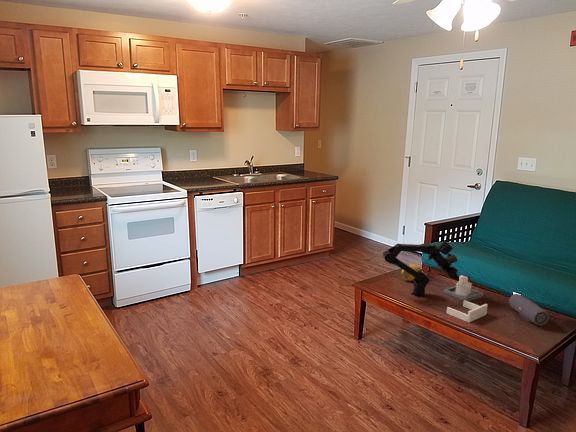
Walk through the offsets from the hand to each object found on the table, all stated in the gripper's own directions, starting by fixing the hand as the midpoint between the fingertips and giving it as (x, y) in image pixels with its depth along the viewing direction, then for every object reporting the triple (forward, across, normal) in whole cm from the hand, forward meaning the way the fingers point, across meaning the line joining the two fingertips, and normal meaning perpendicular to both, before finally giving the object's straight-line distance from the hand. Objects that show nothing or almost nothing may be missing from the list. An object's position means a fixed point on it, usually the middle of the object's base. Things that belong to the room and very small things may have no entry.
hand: (455, 277), depth 264 cm
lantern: (-5, +26, +22) cm, 35 cm away
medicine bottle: (+12, 0, +4) cm, 13 cm away
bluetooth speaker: (+28, -31, -12) cm, 44 cm away
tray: (+12, 0, +4) cm, 13 cm away
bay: (+6, -26, +11) cm, 29 cm away
